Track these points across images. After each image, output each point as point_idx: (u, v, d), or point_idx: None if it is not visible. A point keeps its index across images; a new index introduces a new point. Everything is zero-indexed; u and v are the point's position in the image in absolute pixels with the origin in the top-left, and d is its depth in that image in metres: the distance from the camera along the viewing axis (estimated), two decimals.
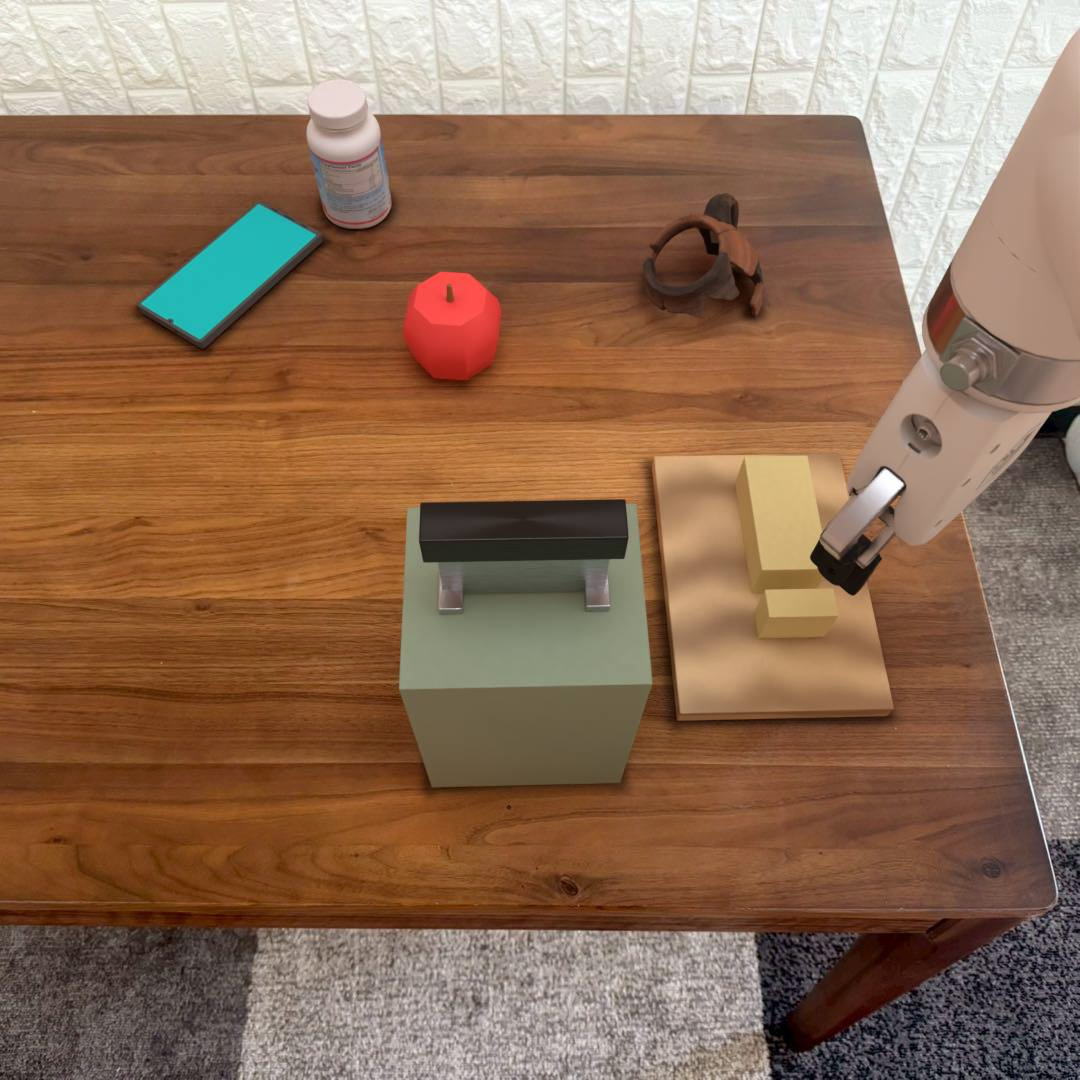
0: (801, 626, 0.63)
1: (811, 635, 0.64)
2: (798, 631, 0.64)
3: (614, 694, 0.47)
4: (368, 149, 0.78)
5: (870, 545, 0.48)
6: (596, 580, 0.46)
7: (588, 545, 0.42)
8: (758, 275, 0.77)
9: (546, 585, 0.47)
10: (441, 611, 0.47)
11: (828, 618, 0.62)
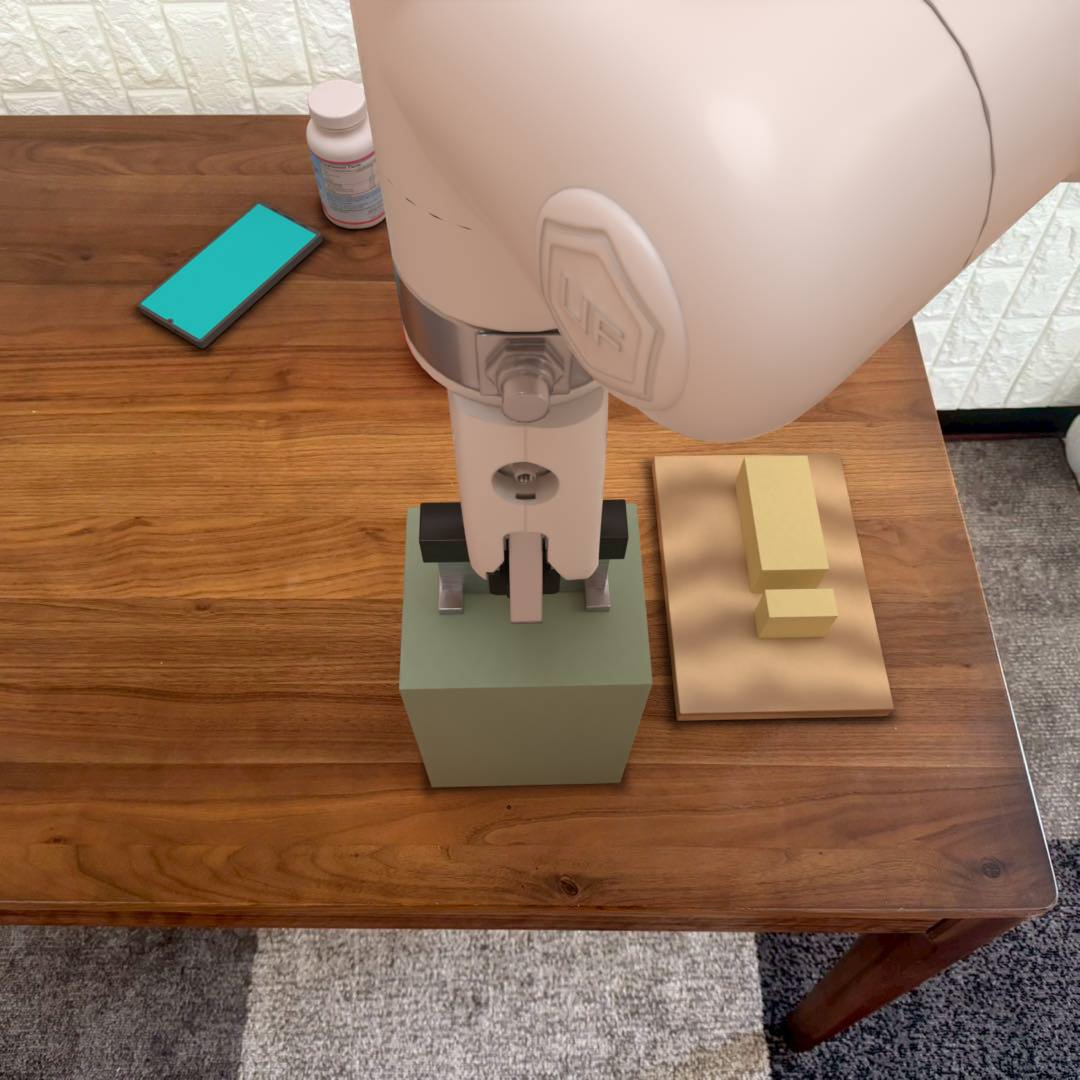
0: (801, 626, 0.63)
1: (811, 635, 0.64)
2: (798, 631, 0.64)
3: (614, 694, 0.47)
4: (368, 149, 0.78)
5: None
6: (596, 580, 0.46)
7: None
8: None
9: None
10: (441, 611, 0.47)
11: (828, 618, 0.62)
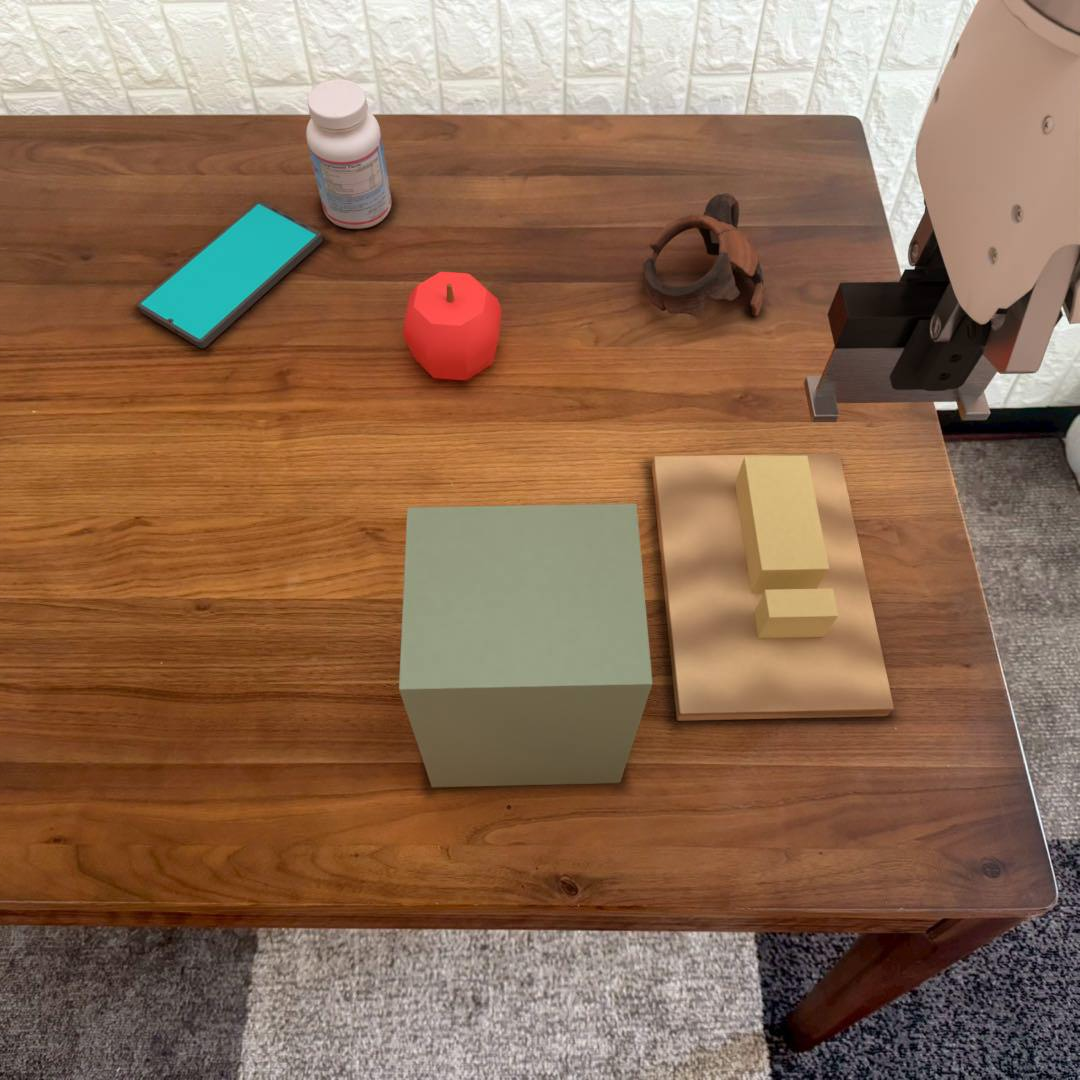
0: (801, 626, 0.63)
1: (811, 635, 0.64)
2: (798, 631, 0.64)
3: (614, 694, 0.47)
4: (368, 149, 0.78)
5: None
6: (978, 385, 0.45)
7: None
8: (758, 275, 0.77)
9: (923, 392, 0.45)
10: (816, 417, 0.45)
11: (828, 618, 0.62)
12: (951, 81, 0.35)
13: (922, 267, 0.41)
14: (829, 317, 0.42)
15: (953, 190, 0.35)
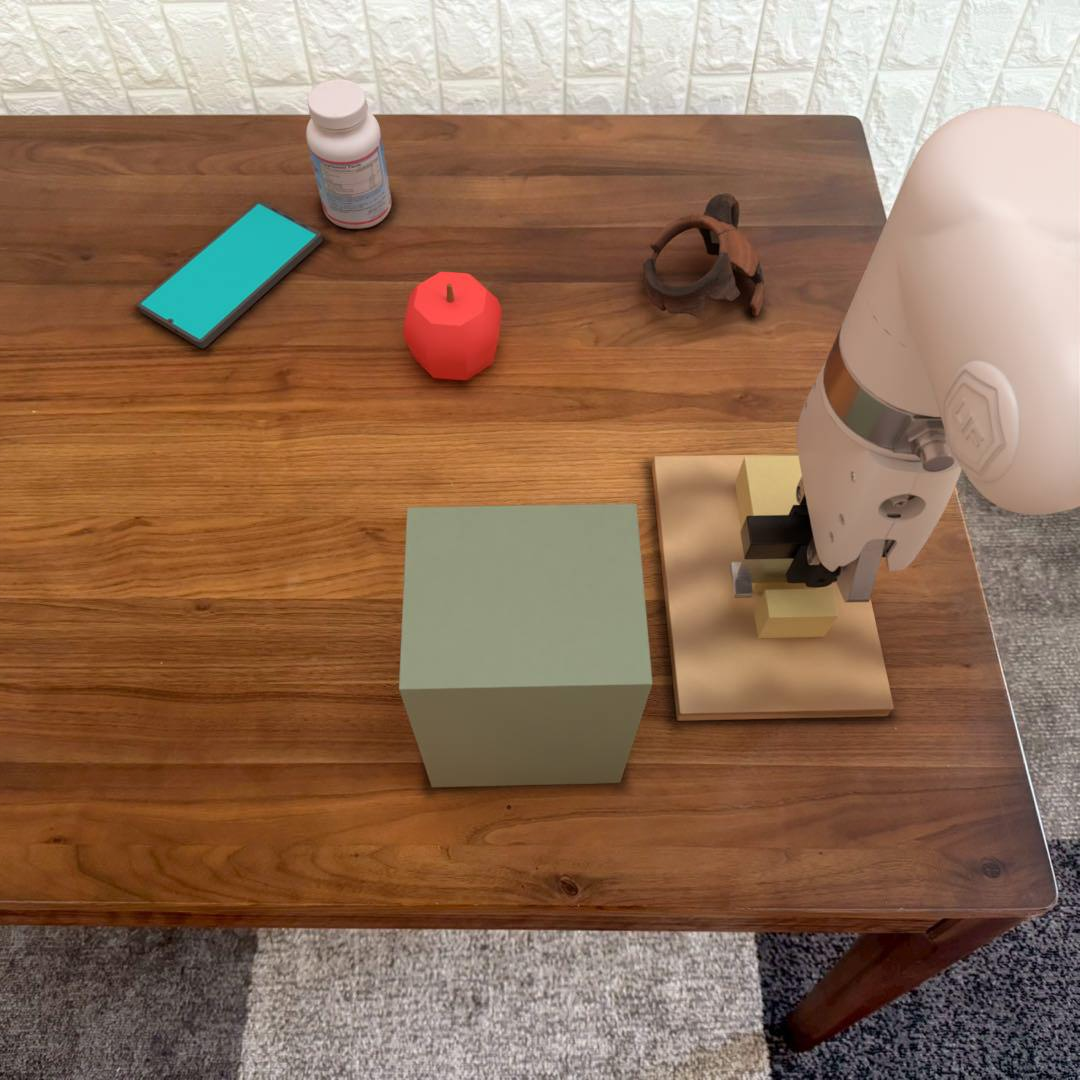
0: (801, 626, 0.63)
1: (811, 635, 0.64)
2: (798, 631, 0.64)
3: (614, 694, 0.47)
4: (368, 149, 0.78)
5: None
6: None
7: None
8: (758, 275, 0.77)
9: None
10: (737, 595, 0.62)
11: (828, 618, 0.62)
12: (811, 406, 0.52)
13: None
14: (741, 535, 0.59)
15: (812, 480, 0.52)
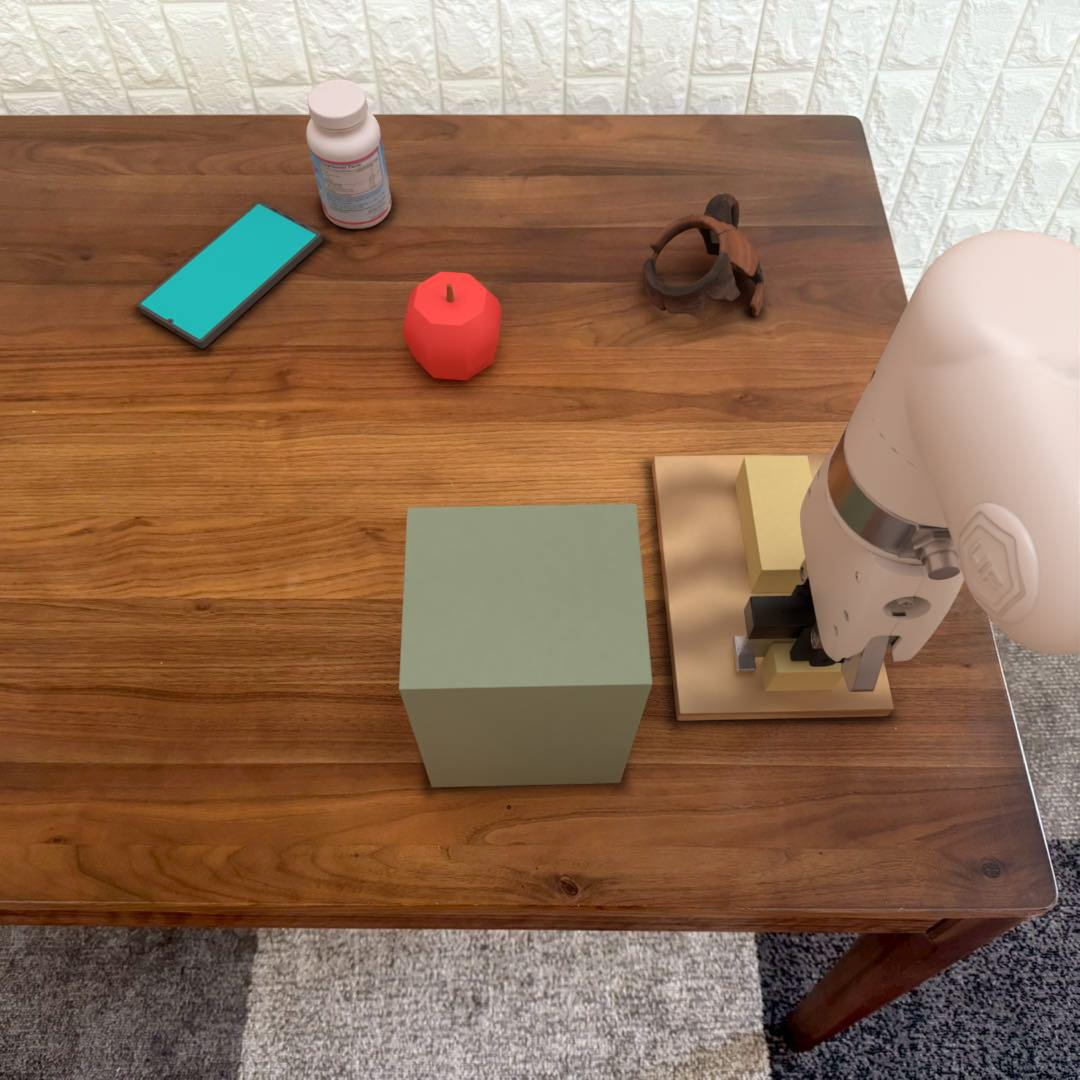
0: (809, 680, 0.61)
1: (819, 688, 0.62)
2: (806, 684, 0.62)
3: (614, 694, 0.47)
4: (368, 149, 0.78)
5: None
6: None
7: None
8: (758, 275, 0.77)
9: None
10: (740, 670, 0.62)
11: (837, 673, 0.60)
12: (815, 494, 0.51)
13: None
14: (744, 614, 0.58)
15: (816, 569, 0.51)
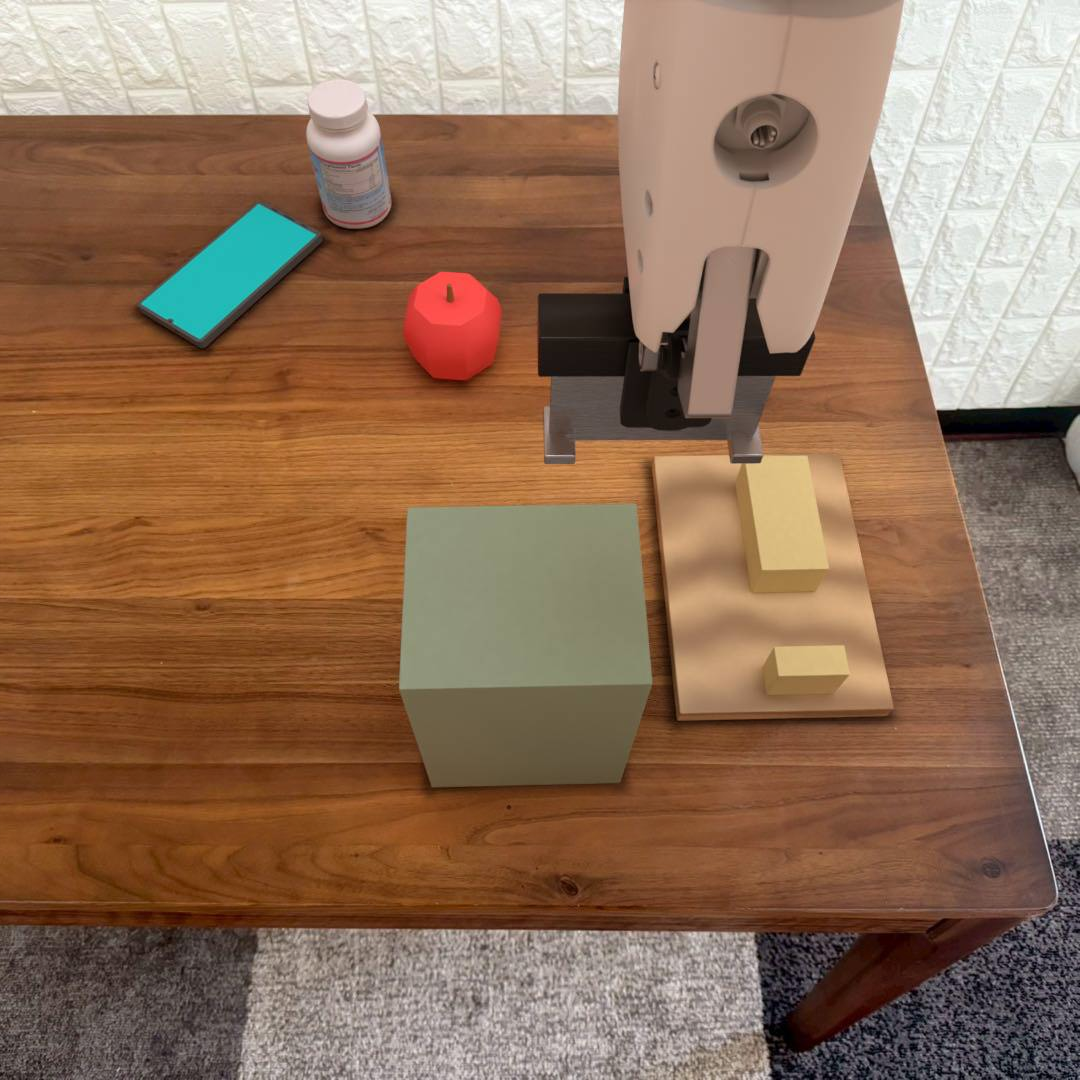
0: (811, 683, 0.61)
1: (821, 692, 0.62)
2: (808, 688, 0.62)
3: (614, 694, 0.47)
4: (368, 149, 0.78)
5: None
6: (747, 421, 0.36)
7: (759, 351, 0.32)
8: None
9: None
10: (548, 459, 0.37)
11: (839, 676, 0.60)
12: None
13: None
14: (537, 336, 0.33)
15: (621, 173, 0.26)
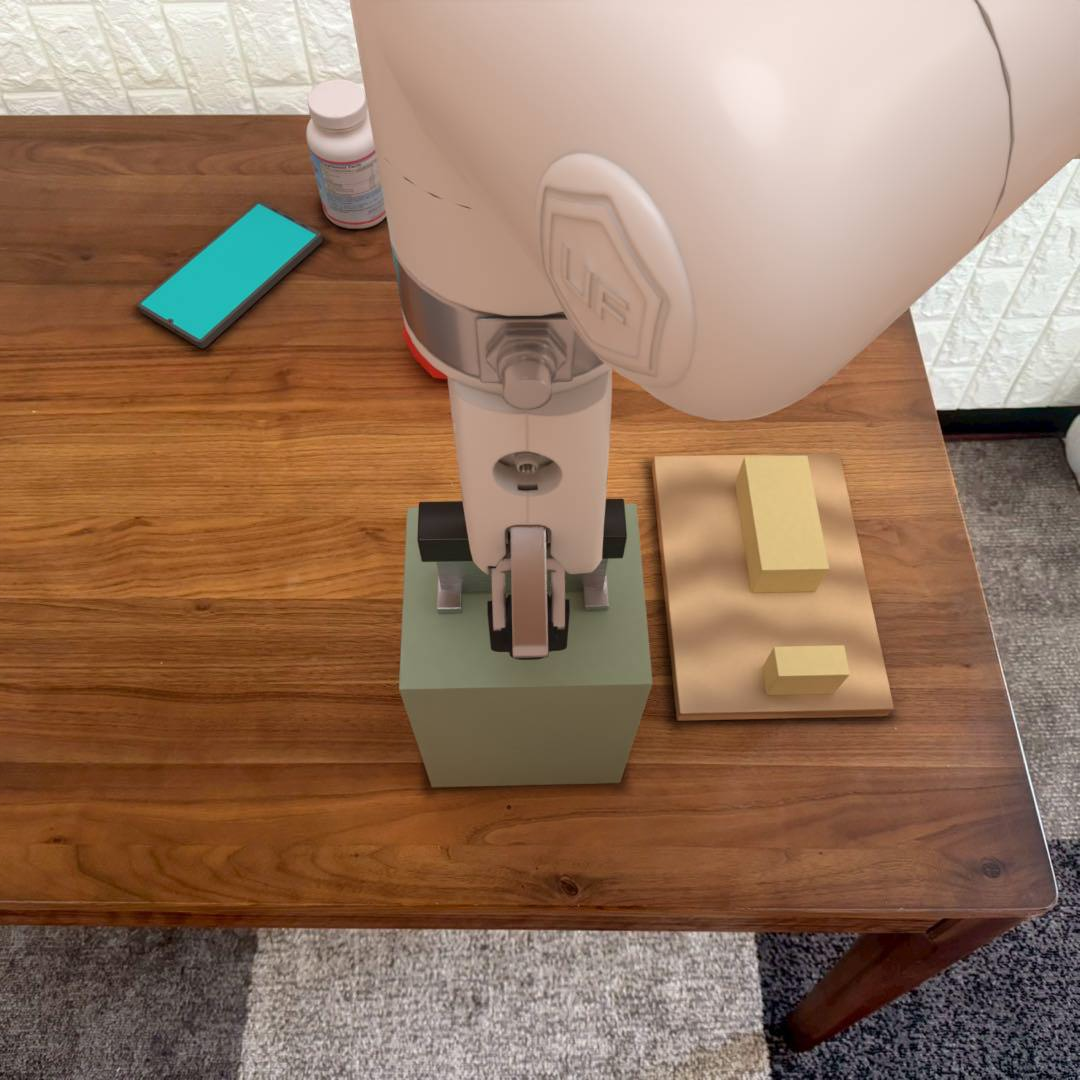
0: (811, 683, 0.61)
1: (821, 692, 0.62)
2: (808, 688, 0.62)
3: (614, 694, 0.47)
4: (368, 149, 0.78)
5: (553, 603, 0.36)
6: (595, 579, 0.46)
7: None
8: None
9: None
10: (440, 610, 0.47)
11: (839, 676, 0.60)
12: None
13: None
14: None
15: None
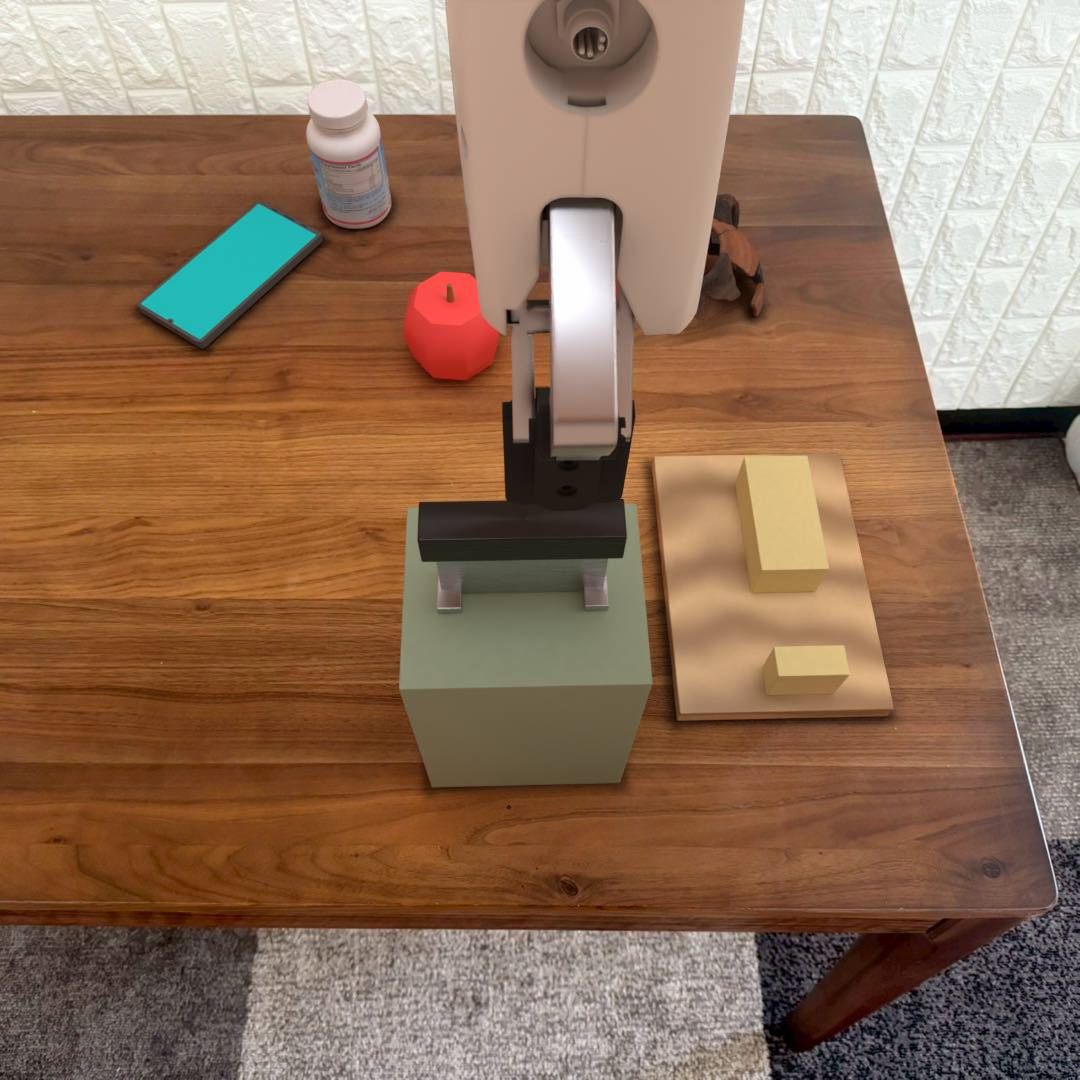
0: (811, 683, 0.61)
1: (821, 692, 0.62)
2: (808, 688, 0.62)
3: (614, 694, 0.47)
4: (368, 149, 0.78)
5: None
6: (595, 579, 0.46)
7: (586, 545, 0.42)
8: (759, 275, 0.77)
9: (545, 584, 0.47)
10: (440, 610, 0.47)
11: (839, 676, 0.60)
12: None
13: None
14: None
15: None
